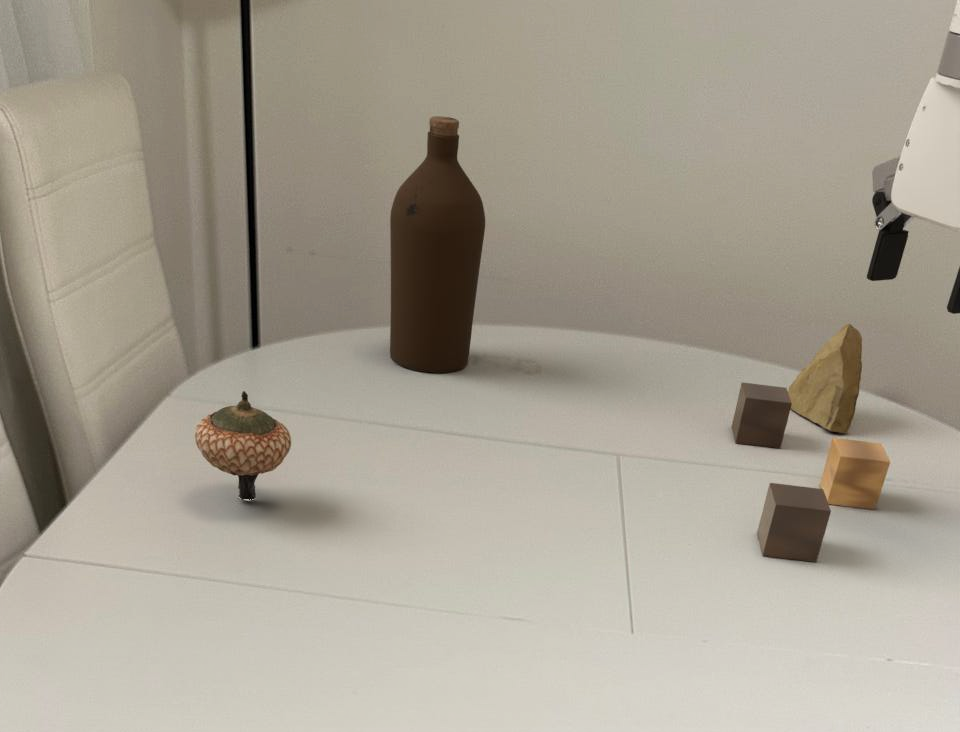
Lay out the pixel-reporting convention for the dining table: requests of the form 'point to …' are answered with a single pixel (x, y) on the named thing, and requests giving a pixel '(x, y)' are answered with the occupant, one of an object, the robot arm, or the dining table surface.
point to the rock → (831, 382)
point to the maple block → (854, 473)
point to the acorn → (243, 443)
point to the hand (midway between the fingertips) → (919, 295)
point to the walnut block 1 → (761, 415)
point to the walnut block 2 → (793, 522)
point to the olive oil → (435, 258)
